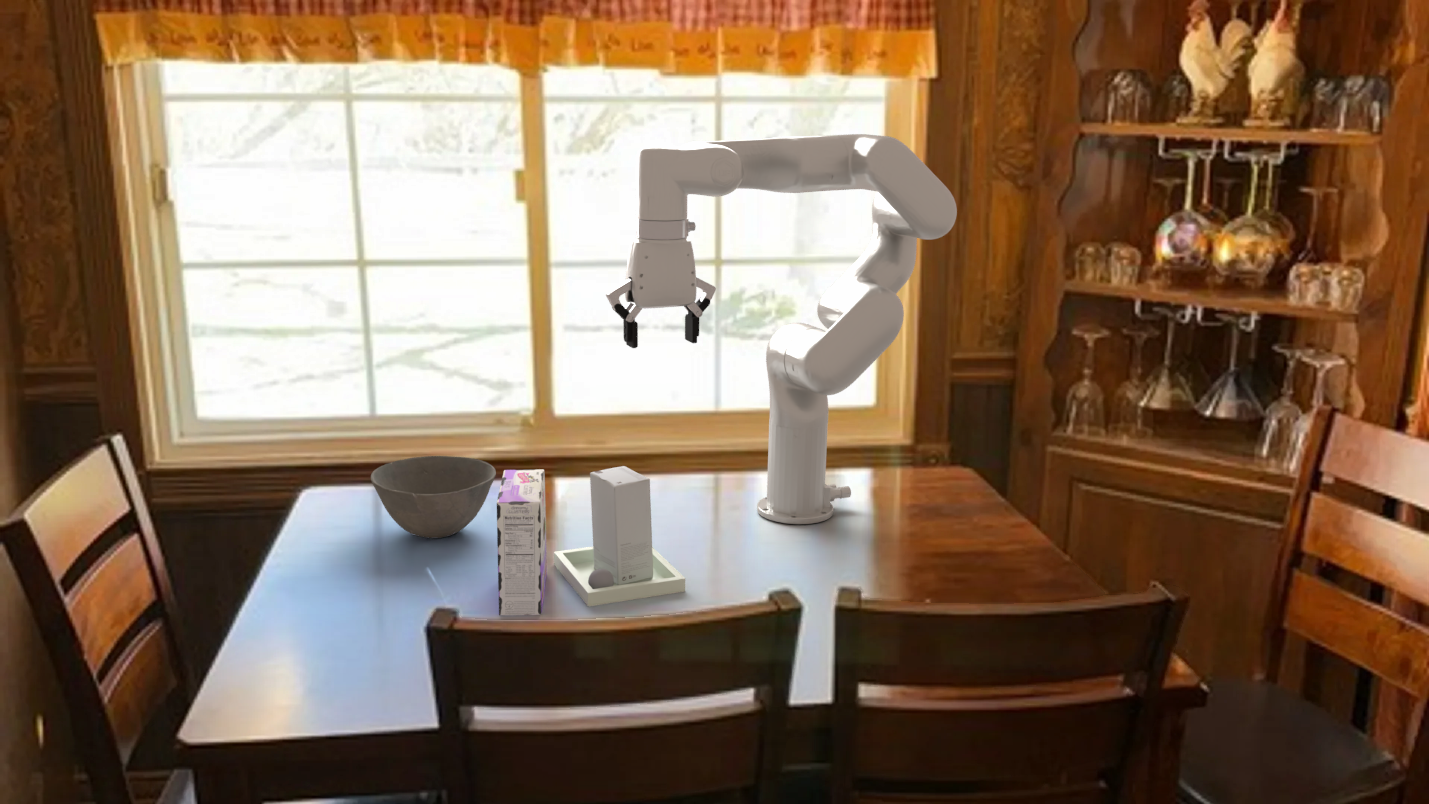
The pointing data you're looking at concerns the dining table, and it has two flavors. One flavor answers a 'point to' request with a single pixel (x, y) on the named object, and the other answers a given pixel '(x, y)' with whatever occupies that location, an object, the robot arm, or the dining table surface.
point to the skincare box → (622, 524)
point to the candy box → (521, 542)
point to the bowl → (433, 492)
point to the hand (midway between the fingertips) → (661, 343)
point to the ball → (600, 579)
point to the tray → (581, 565)
